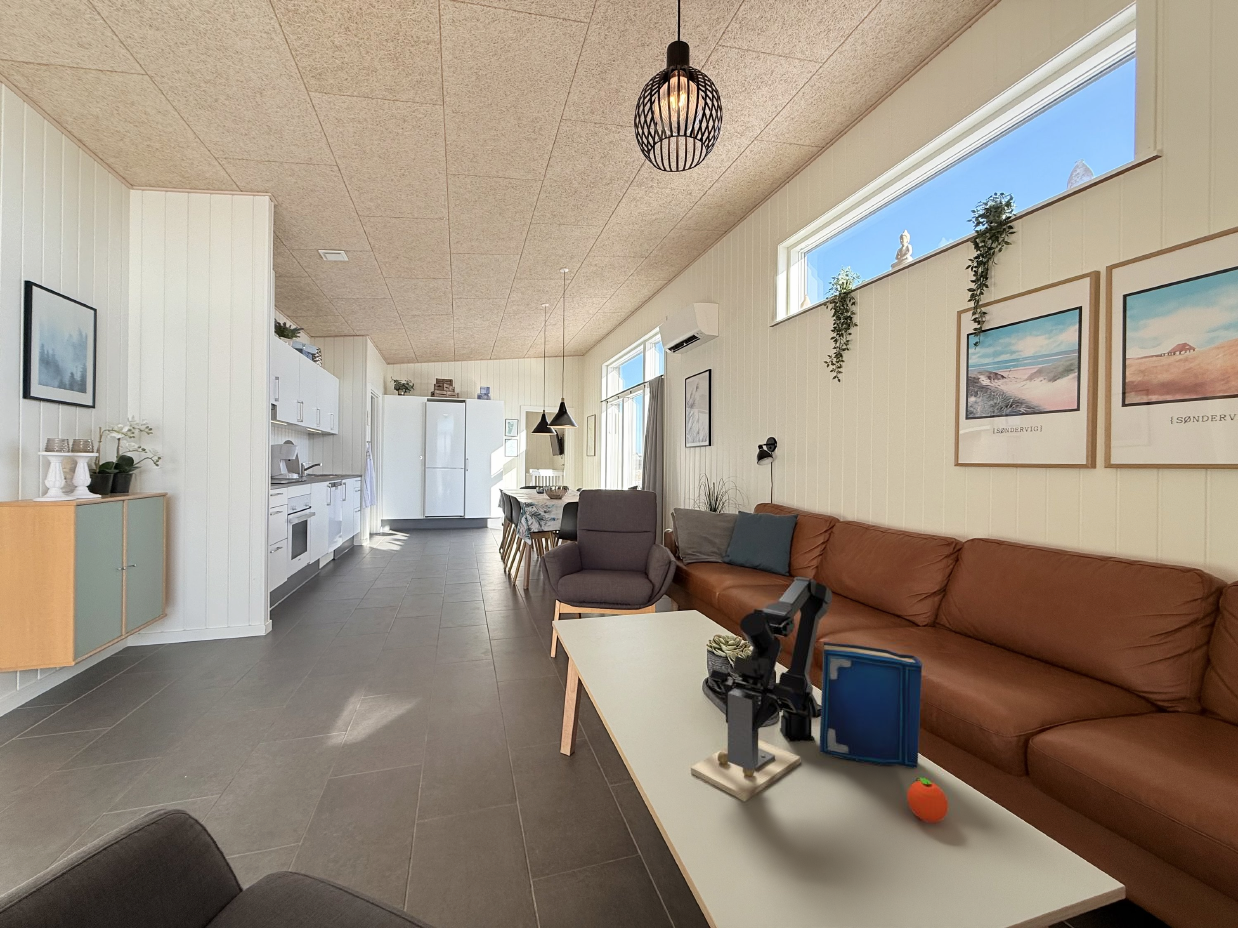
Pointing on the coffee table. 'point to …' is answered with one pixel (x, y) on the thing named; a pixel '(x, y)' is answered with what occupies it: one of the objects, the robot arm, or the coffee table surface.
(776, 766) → the board
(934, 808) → the clementine
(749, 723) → the grey block
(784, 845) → the coffee table surface
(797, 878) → the coffee table surface
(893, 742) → the book
